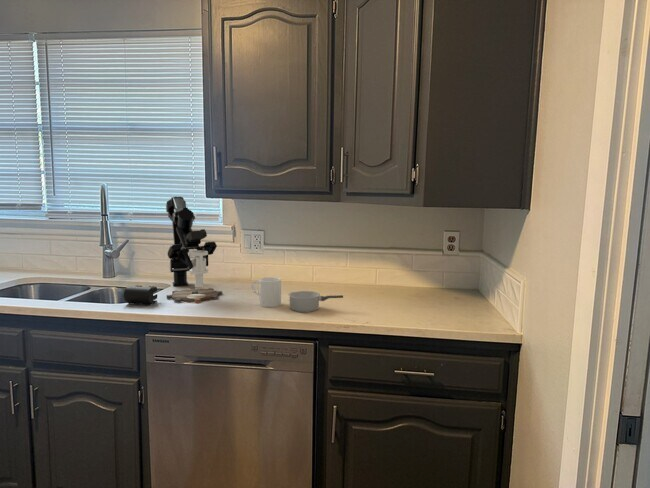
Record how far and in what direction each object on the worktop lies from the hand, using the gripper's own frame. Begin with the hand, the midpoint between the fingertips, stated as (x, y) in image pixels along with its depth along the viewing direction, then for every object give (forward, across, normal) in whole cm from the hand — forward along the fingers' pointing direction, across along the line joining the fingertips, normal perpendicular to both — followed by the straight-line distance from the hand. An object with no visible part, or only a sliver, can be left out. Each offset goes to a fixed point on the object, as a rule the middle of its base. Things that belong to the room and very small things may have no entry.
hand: (200, 266), depth 170 cm
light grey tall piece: (+5, 0, +7) cm, 8 cm away
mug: (+24, +16, -6) cm, 30 cm away
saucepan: (+37, +26, -18) cm, 49 cm away
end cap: (+3, -19, +16) cm, 26 cm away
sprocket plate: (+4, +1, +14) cm, 15 cm away
